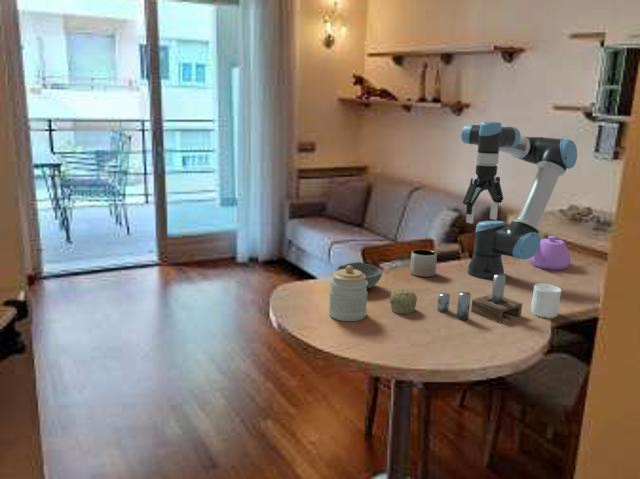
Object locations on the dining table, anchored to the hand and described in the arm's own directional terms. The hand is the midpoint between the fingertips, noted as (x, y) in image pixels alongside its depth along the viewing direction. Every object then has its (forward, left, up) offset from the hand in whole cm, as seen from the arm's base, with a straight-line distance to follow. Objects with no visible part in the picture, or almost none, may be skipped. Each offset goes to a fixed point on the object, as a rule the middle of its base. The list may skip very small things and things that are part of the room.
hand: (481, 221), depth 222 cm
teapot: (-61, -9, -29) cm, 68 cm away
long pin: (+11, +19, -29) cm, 36 cm away
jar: (+57, -7, -29) cm, 64 cm away
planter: (-1, -29, -29) cm, 41 cm away
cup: (-4, +28, -29) cm, 40 cm away
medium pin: (+25, +16, -29) cm, 41 cm away
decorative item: (+37, -1, -29) cm, 47 cm away
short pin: (+25, +7, -29) cm, 39 cm away
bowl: (+35, -28, -29) cm, 53 cm away
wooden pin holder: (+11, +19, -29) cm, 36 cm away
